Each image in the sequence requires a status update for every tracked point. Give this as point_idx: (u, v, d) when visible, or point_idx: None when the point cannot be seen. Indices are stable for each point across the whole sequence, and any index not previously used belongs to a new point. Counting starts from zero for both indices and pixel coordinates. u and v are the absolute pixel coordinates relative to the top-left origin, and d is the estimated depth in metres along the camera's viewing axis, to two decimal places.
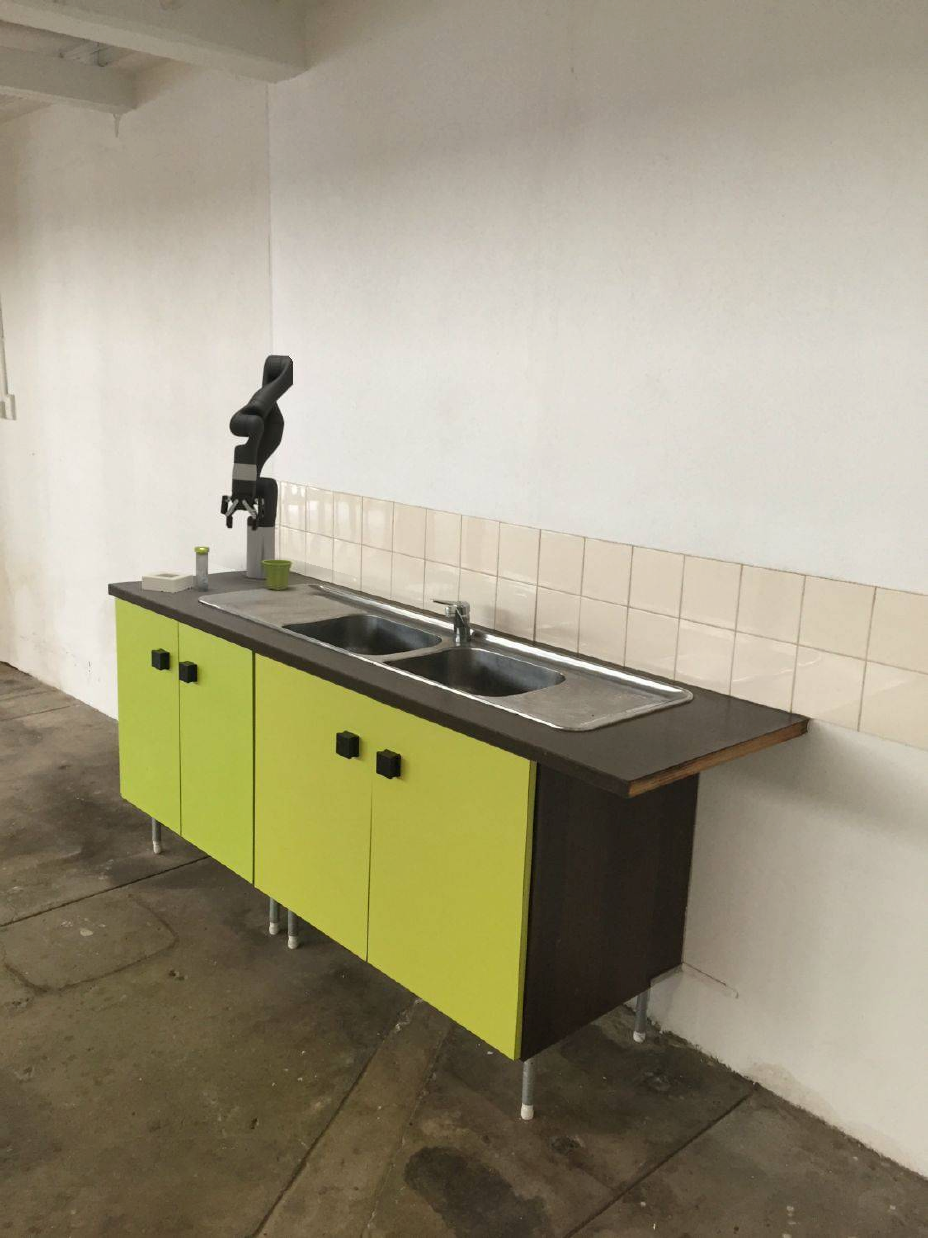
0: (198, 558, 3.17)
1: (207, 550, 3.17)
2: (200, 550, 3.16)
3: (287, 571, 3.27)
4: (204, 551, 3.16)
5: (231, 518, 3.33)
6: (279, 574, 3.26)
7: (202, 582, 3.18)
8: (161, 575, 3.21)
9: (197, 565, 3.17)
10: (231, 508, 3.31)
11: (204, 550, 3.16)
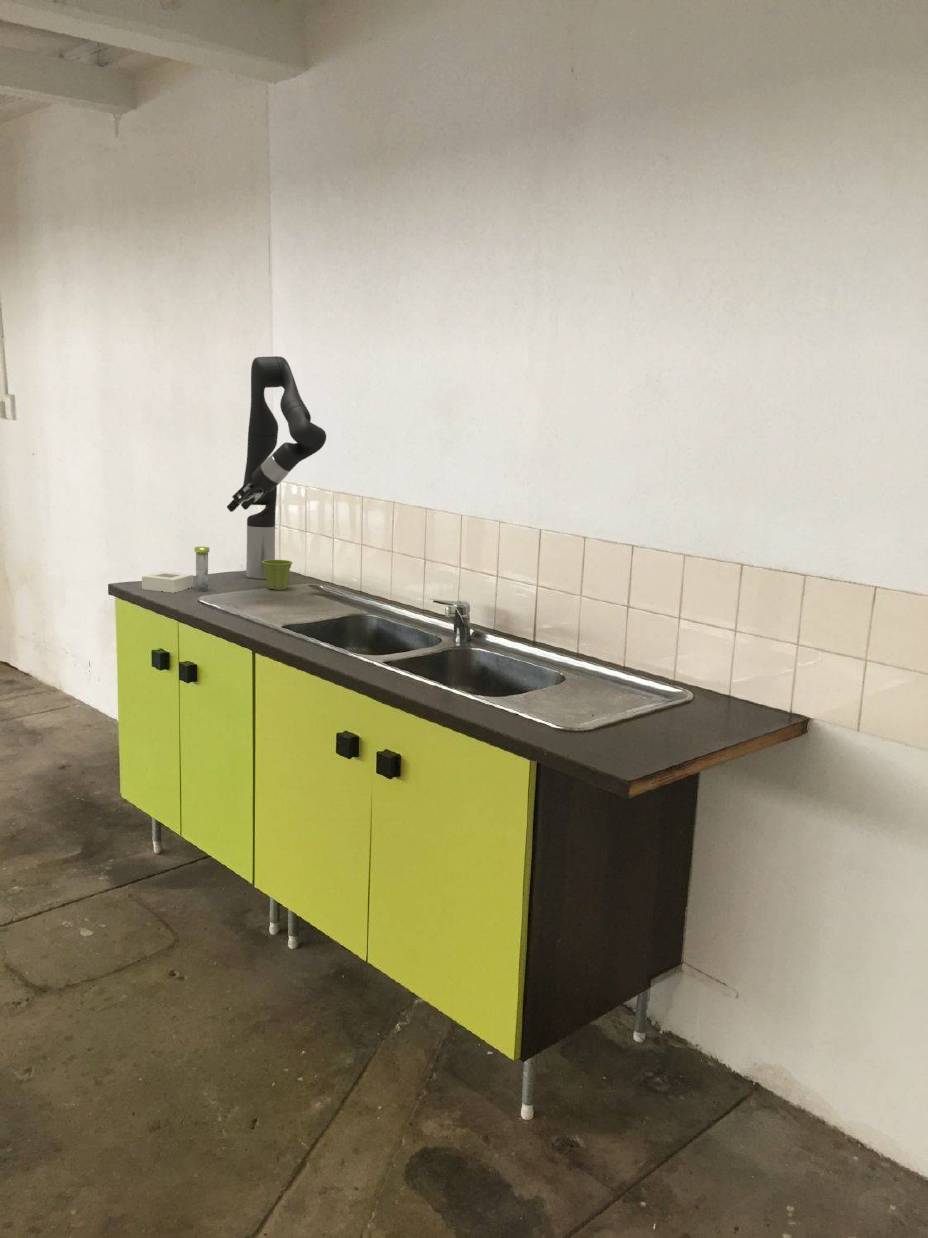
0: (198, 558, 3.17)
1: (207, 550, 3.17)
2: (200, 550, 3.16)
3: (287, 571, 3.27)
4: (204, 551, 3.16)
5: None
6: (279, 574, 3.26)
7: (202, 582, 3.18)
8: (161, 575, 3.21)
9: (197, 565, 3.17)
10: (248, 499, 3.07)
11: (204, 550, 3.16)
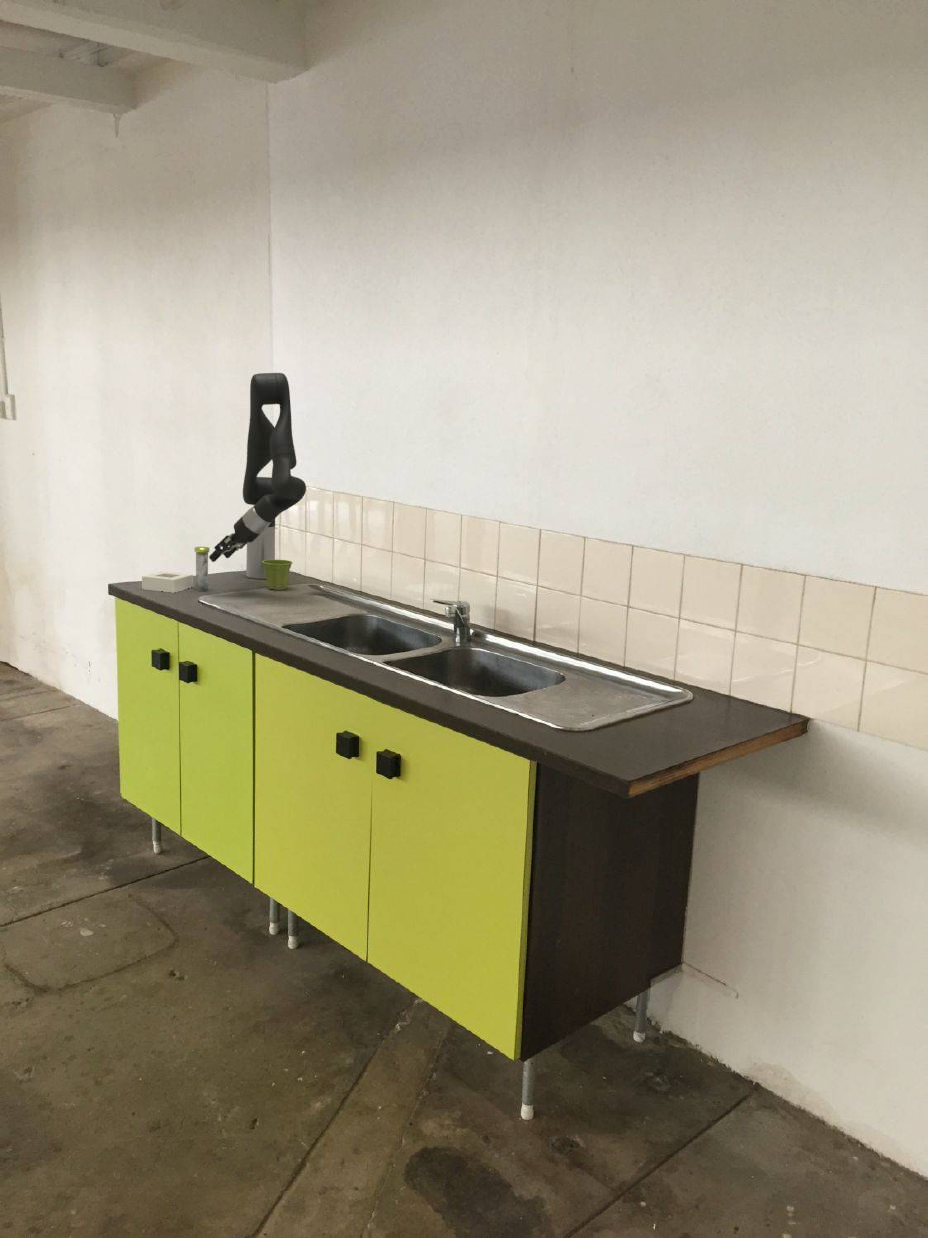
0: (198, 558, 3.17)
1: (207, 550, 3.17)
2: (200, 550, 3.16)
3: (287, 571, 3.27)
4: (204, 551, 3.16)
5: None
6: (279, 574, 3.25)
7: (202, 582, 3.18)
8: (161, 575, 3.21)
9: (197, 565, 3.17)
10: (230, 549, 3.12)
11: (204, 550, 3.16)
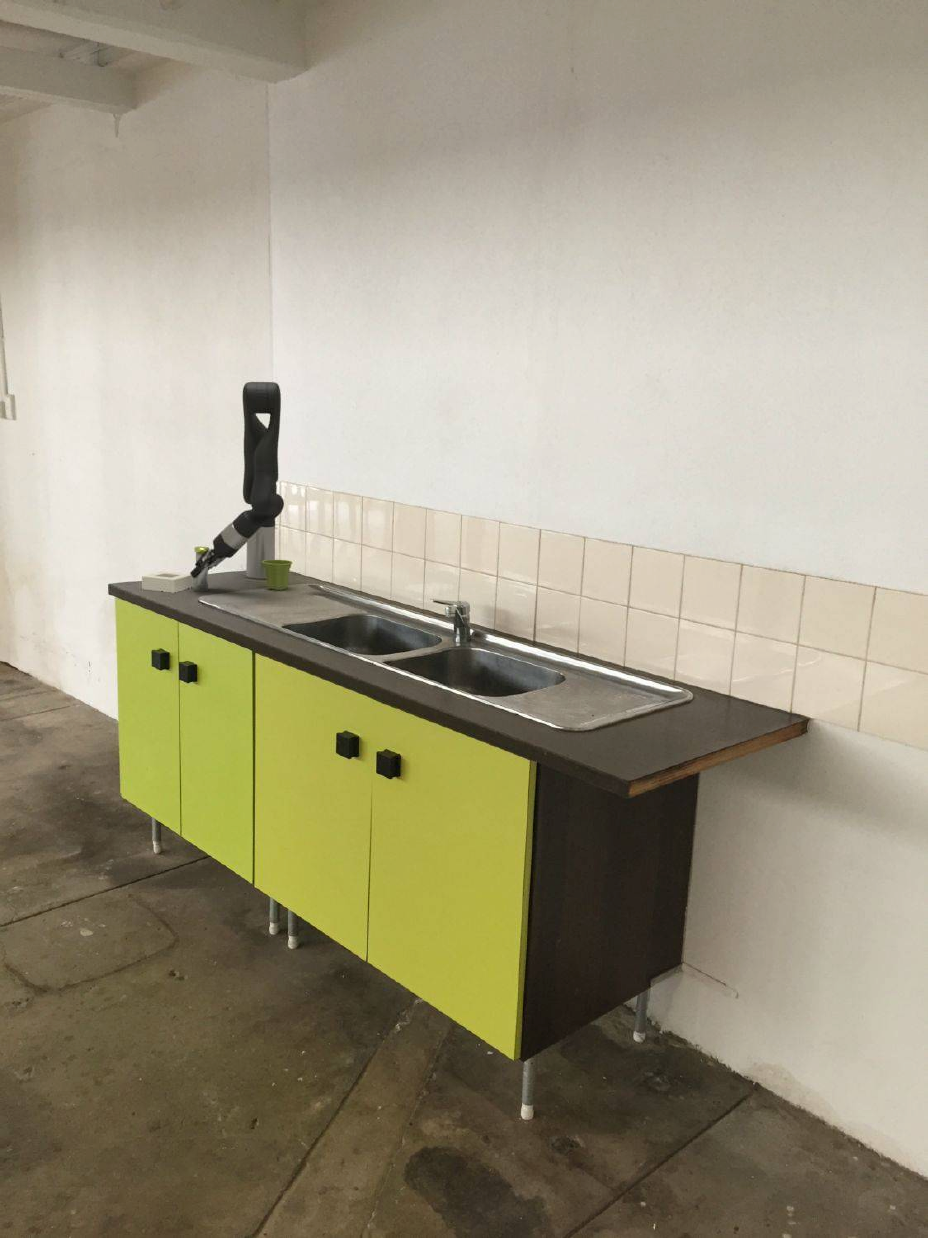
0: (198, 558, 3.17)
1: (207, 550, 3.17)
2: (200, 550, 3.16)
3: (287, 571, 3.27)
4: (204, 551, 3.16)
5: None
6: (279, 574, 3.26)
7: (202, 582, 3.18)
8: (161, 575, 3.21)
9: None
10: (210, 565, 3.16)
11: (204, 550, 3.16)
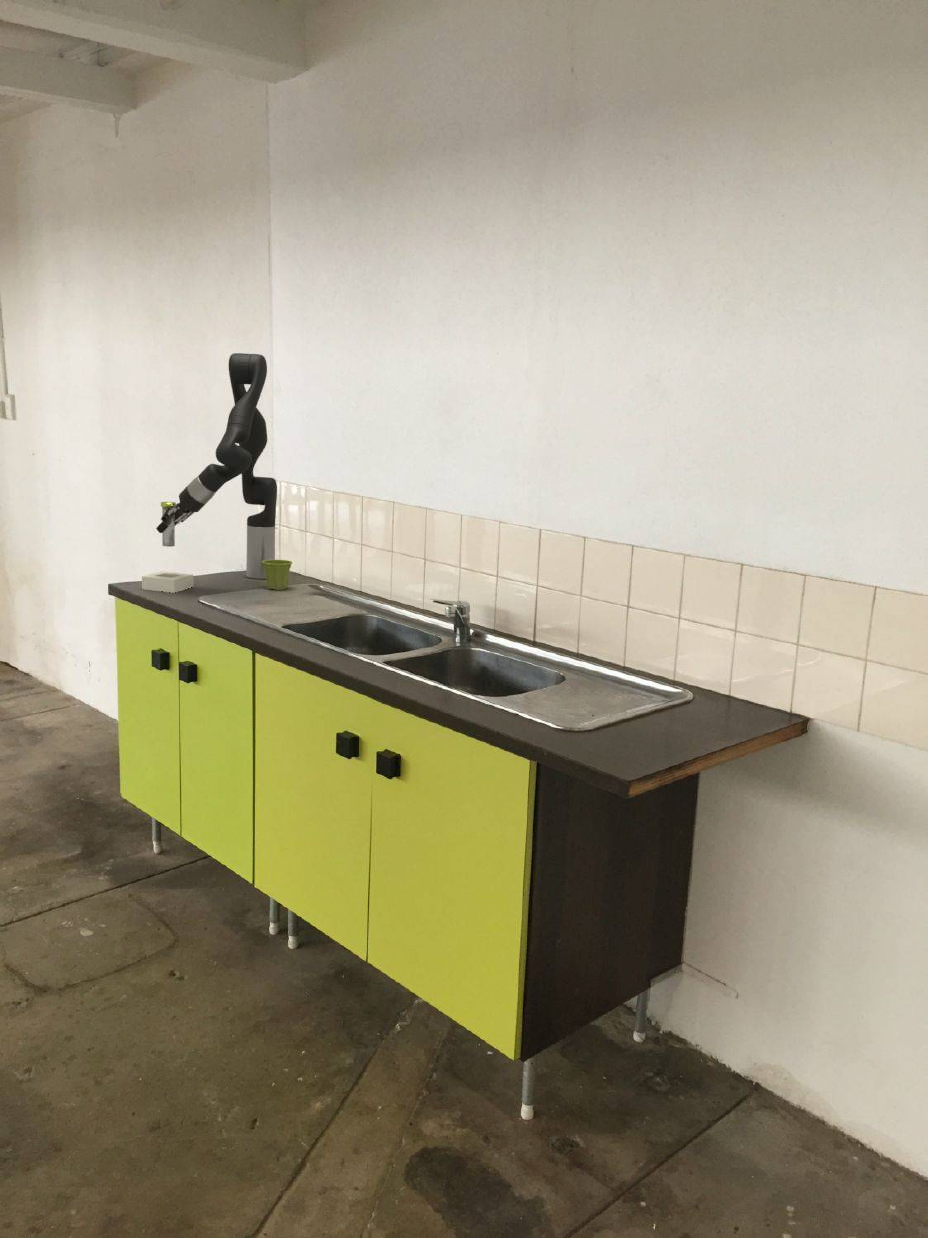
0: None
1: (173, 505, 3.14)
2: (166, 504, 3.13)
3: (287, 571, 3.27)
4: (170, 506, 3.13)
5: None
6: (279, 574, 3.26)
7: (169, 537, 3.15)
8: (161, 575, 3.21)
9: None
10: (176, 520, 3.13)
11: (170, 505, 3.13)
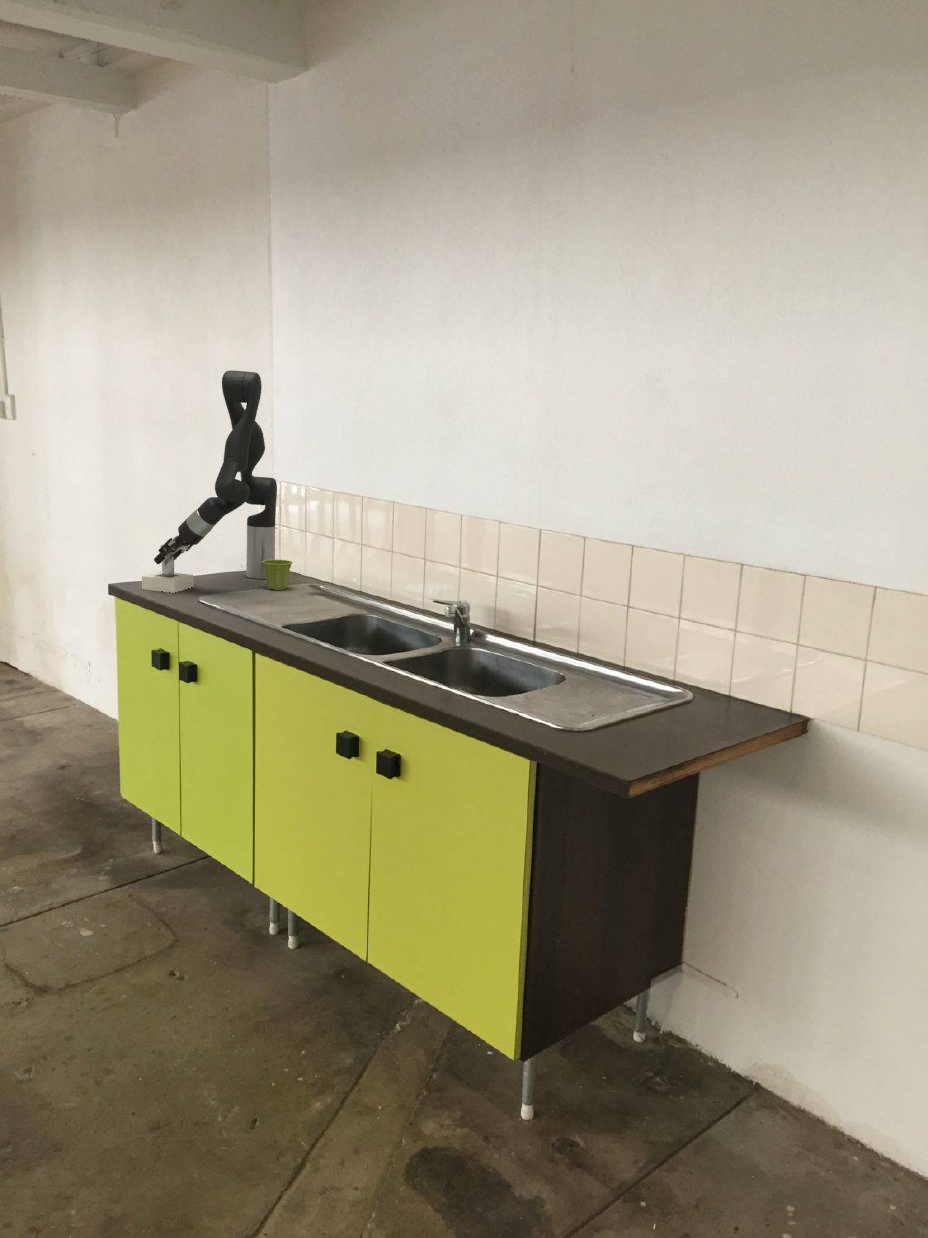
0: None
1: (173, 548, 3.17)
2: None
3: (287, 571, 3.27)
4: None
5: None
6: (279, 574, 3.26)
7: None
8: (161, 575, 3.21)
9: (163, 563, 3.17)
10: (175, 552, 3.14)
11: None
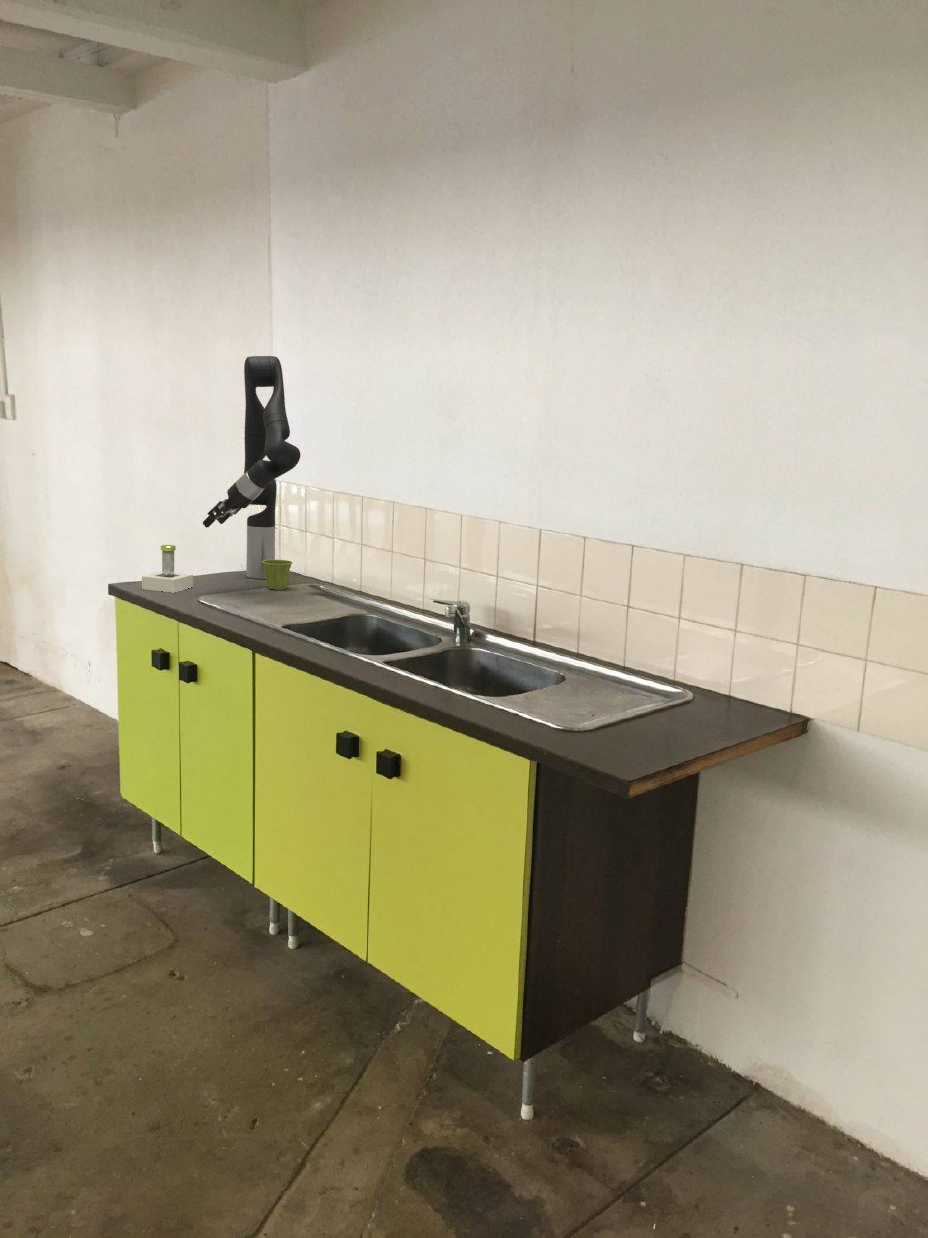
0: (164, 556, 3.17)
1: (173, 548, 3.17)
2: (166, 548, 3.16)
3: (287, 571, 3.27)
4: (170, 549, 3.16)
5: None
6: (279, 574, 3.26)
7: None
8: (161, 575, 3.21)
9: (163, 563, 3.17)
10: (224, 515, 3.11)
11: (170, 548, 3.16)
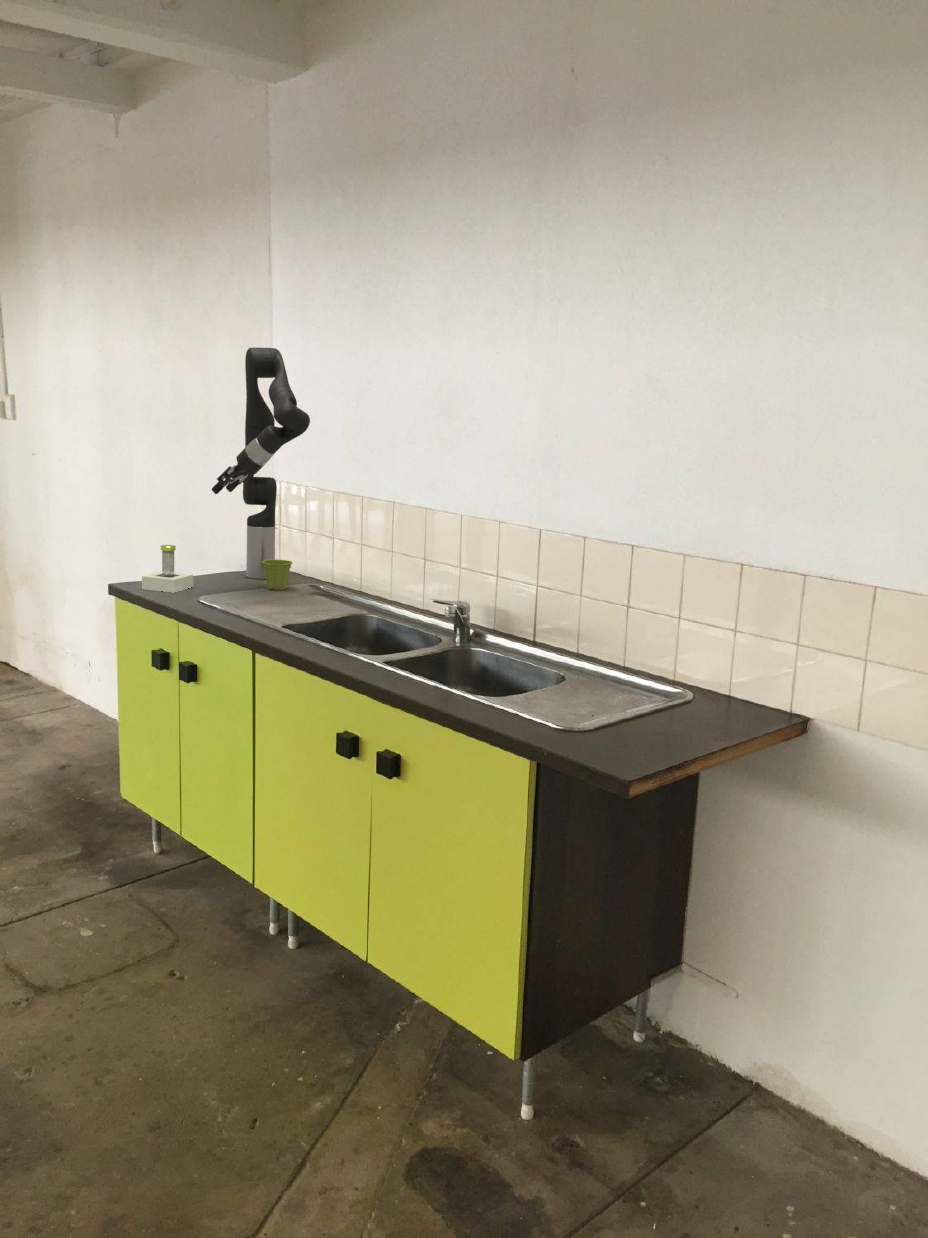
0: (164, 556, 3.17)
1: (173, 548, 3.17)
2: (166, 548, 3.16)
3: (287, 571, 3.27)
4: (170, 549, 3.16)
5: None
6: (279, 574, 3.26)
7: None
8: (161, 575, 3.21)
9: (163, 563, 3.17)
10: (233, 481, 3.11)
11: (170, 548, 3.16)
